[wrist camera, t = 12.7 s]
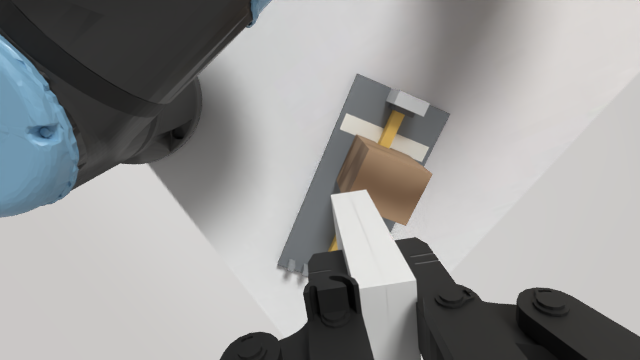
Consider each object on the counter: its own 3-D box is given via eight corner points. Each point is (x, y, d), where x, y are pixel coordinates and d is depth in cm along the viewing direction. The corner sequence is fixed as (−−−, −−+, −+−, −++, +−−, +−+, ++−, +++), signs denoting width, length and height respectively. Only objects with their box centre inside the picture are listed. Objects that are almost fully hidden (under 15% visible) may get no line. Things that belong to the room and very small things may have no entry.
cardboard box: (387, 198, 44) (405, 225, 37) (336, 179, 43) (344, 203, 36) (408, 155, 43) (432, 174, 35) (356, 133, 42) (369, 148, 34)
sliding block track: (359, 287, 49) (365, 308, 45) (278, 261, 47) (276, 280, 43) (447, 113, 43) (463, 118, 38) (357, 73, 41) (363, 74, 36)
